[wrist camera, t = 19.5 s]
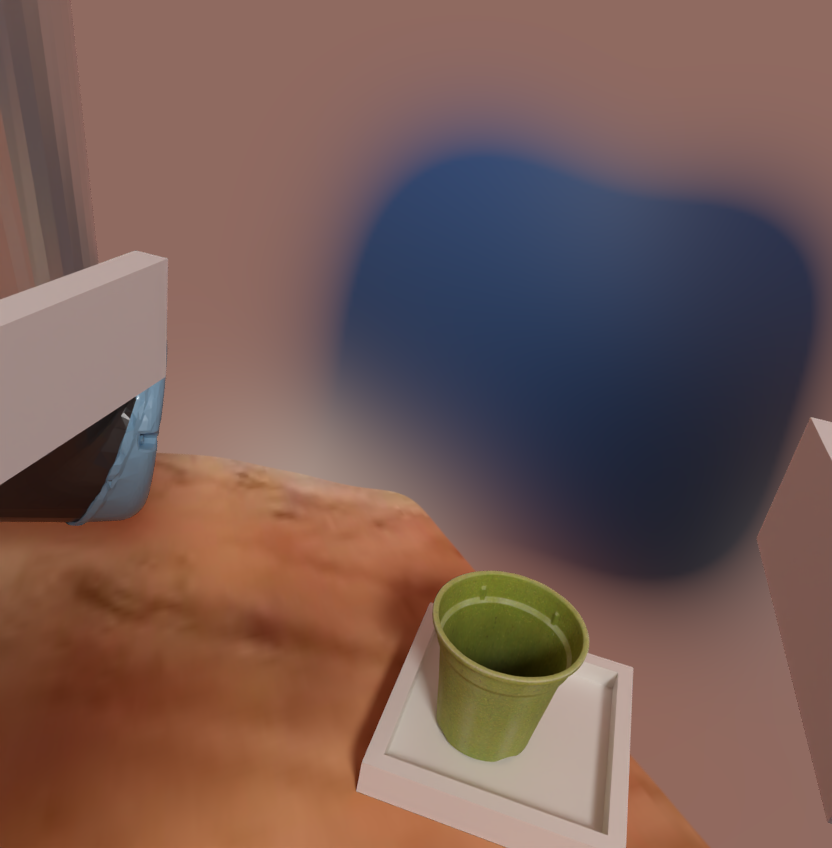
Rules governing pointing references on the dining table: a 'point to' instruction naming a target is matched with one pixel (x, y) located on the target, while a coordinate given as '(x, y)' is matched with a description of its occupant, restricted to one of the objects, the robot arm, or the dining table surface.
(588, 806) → the pot tray
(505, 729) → the plant pot
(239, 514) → the dining table surface
